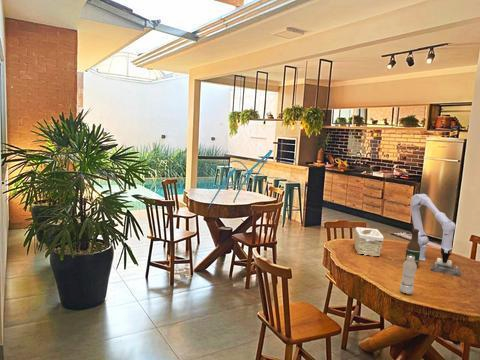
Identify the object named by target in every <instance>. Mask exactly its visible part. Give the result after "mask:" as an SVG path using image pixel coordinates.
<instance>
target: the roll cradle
mask: <svg viewBox="0 0 480 360" xmlns="http://www.w3.org/2000/svg"><path fill="white" fill-rule="evenodd" d="M430 271H432V272H436V273H442V274H446V275H449V276H450V275H452V276H456V277H462V272H461V269H459V266H458V265H455V267H454V266H452V267H451V266H446V265H441V264H438V265H437V262H436V261H434V264H433V263H431V265H430Z"/></svg>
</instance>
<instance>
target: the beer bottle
mask: <svg viewBox="0 0 480 360" xmlns="http://www.w3.org/2000/svg"><path fill="white" fill-rule="evenodd" d="M418 232H419V230H418V229H414V228H413V229H412V235H411V239H410V242H408V244H407V246H406V249H405V250H406V251H405V260H404V262H405V261H406V260H407V255H414V256H415V260H414V261H415V263H416V265H417V268H418V267H419V263H420V260H419V257H420V245H419V243H418Z"/></svg>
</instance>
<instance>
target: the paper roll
mask: <svg viewBox="0 0 480 360" xmlns="http://www.w3.org/2000/svg"><path fill="white" fill-rule="evenodd" d="M435 262H437V265H438V264H441V265H446V266H451V267H453V261H452V260H450V259H448V260H447V263H443V262H442V257H437V258H436V261H435Z"/></svg>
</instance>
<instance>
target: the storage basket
mask: <svg viewBox="0 0 480 360" xmlns="http://www.w3.org/2000/svg"><path fill="white" fill-rule="evenodd" d="M354 231H355V234H354V248H355V250H356V252H357V255H359V254H364V255H363V256H366V255H372V256H371V257H373V256H379V257H380V256H381V253H382V251H381V250H382V245H383V243H384V238H385V237H384V235H383V234H382V233H381V232H380V231H379V229H377V228H369V227H362V226H361V227H359V226H356V227H355V230H354ZM365 233H366V234H365Z"/></svg>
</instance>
